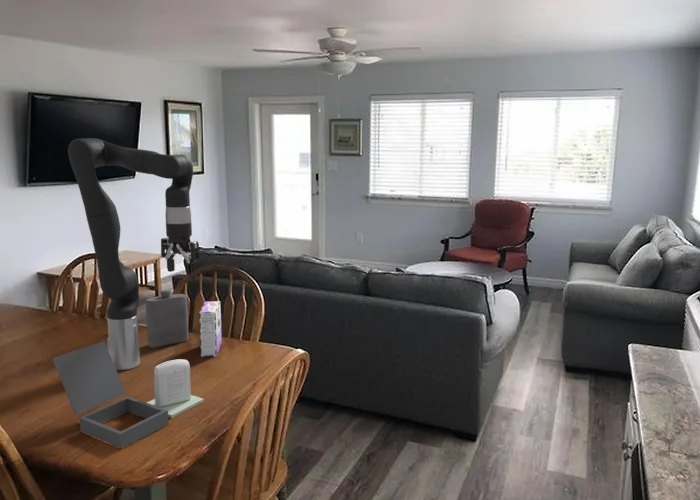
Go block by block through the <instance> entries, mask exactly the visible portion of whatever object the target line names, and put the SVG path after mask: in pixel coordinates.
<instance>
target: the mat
mask: <svg viewBox="0 0 700 500" xmlns="http://www.w3.org/2000/svg"><path fill="white" fill-rule="evenodd" d="M204 402H205V399H204V398H202V397H199V396H196V395H192V394H191V399H189V400H186V401H182V402H178V403H174V404H170V405H167V406H162V407H160V408H162V409H165V410H168V418H171V419H173V418H175V417H177V416H178V415H180V414H182V413H184V412H187V411H188V410H190V409H192V408H194V407H196V406H198V405H200V404H202V403H204ZM146 403H148V404H151V405H154V406H156V405H155V398H153V399H152V400H151V399H150V401H147V402H146Z"/></svg>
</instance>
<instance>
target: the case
mask: <svg viewBox="0 0 700 500" xmlns="http://www.w3.org/2000/svg"><path fill="white" fill-rule="evenodd" d="M126 413H130V414H132V415H135V416H138V417H140V416H141V418H143V417H144V418H143V419H144V420H141V421H139V422H137V423H135V424H134V425H130V426H129V427H127V428H125V429H123V430H122V431H121V430H118V429H115V428H113V427H110V426H108V425H106V424H104V423H103V422H106V421H108V420H110V421H112V420H114V419H116V418H118V417H120V416H122V415H125V414H126ZM111 419H112V420H111ZM78 420H79V429H80V431H82V432H84V433H86V434H89V435H91V436H94V437H96V438H99V439H101V440H103V441H106V442H108V443H110V444H112V445H114V446H113V447H115V446H116V447H115V448H117V447H119V448H123V447H125V446H126V447H128V446H130V445H132V444H134V443H136V442H138V441H139V439H140V440H141V438H142V439H143V437H144V438H145V437H147V436H149V435H151V434H153V433H155V432H156V430H157V431H159V430H161V429H162V427H163V428H164V427H166V426H168V425H169V417H168V410H165V409H162V408H160V407H157V406H154V405H151V404H148V403H147V402H144V401H142V400H139V399H137V398H133V397H131V396H125V397H124V398H120V399H119V400H116V401H115V402H112V403H110V404H108V405H105V406H102V407H101V408H99V409H96V410H94V411H92V412H89V413H87V414H85V415H82V416H81V417H79V419H78ZM108 422H109V421H108ZM101 423H103V424H101ZM106 423H107V422H106ZM160 428H161V429H160ZM158 429H159V430H158ZM154 431H155V432H154ZM152 432H153V433H152ZM84 433H83V434H84ZM150 433H151V434H150ZM86 434H85V435H86ZM89 435H88V436H89ZM91 436H90V437H91ZM96 438H95V439H96ZM137 440H138V441H137ZM103 441H102V442H103ZM135 441H136V442H135ZM133 442H134V443H133ZM131 443H132V444H131ZM110 444H109V445H110ZM129 444H130V445H129ZM112 445H111V446H112ZM127 445H128V446H127ZM126 447H125V448H126ZM119 448H118V449H119ZM123 449H124V448H123Z"/></svg>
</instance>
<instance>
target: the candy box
mask: <svg viewBox="0 0 700 500" xmlns="http://www.w3.org/2000/svg"><path fill="white" fill-rule="evenodd" d="M221 306H222V305H221V301H220V300H219V301H204V302H203V305H202V306H201V309H200V310H199V313H198V319H199V320H198V321H199V345H200V349H199V351H200V358H204V357H205V358H207V357H209V358H210V357H212V358H216V357H217V356H218V354H219V351H220V348H221V346H222V344H223V339H222V334H223V333H222V313H221V312H222V311H221Z"/></svg>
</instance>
